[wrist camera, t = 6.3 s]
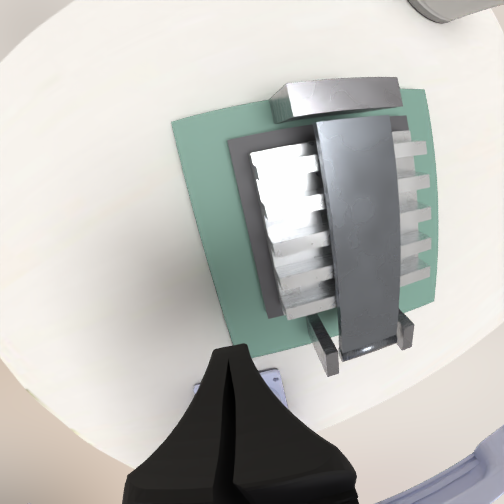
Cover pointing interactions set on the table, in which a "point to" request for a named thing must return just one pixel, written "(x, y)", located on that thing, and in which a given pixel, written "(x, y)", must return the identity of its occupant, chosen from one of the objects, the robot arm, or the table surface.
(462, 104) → the table surface
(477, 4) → the travel mug
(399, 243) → the flat metal bar
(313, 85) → the heat sink
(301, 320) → the circuit board
